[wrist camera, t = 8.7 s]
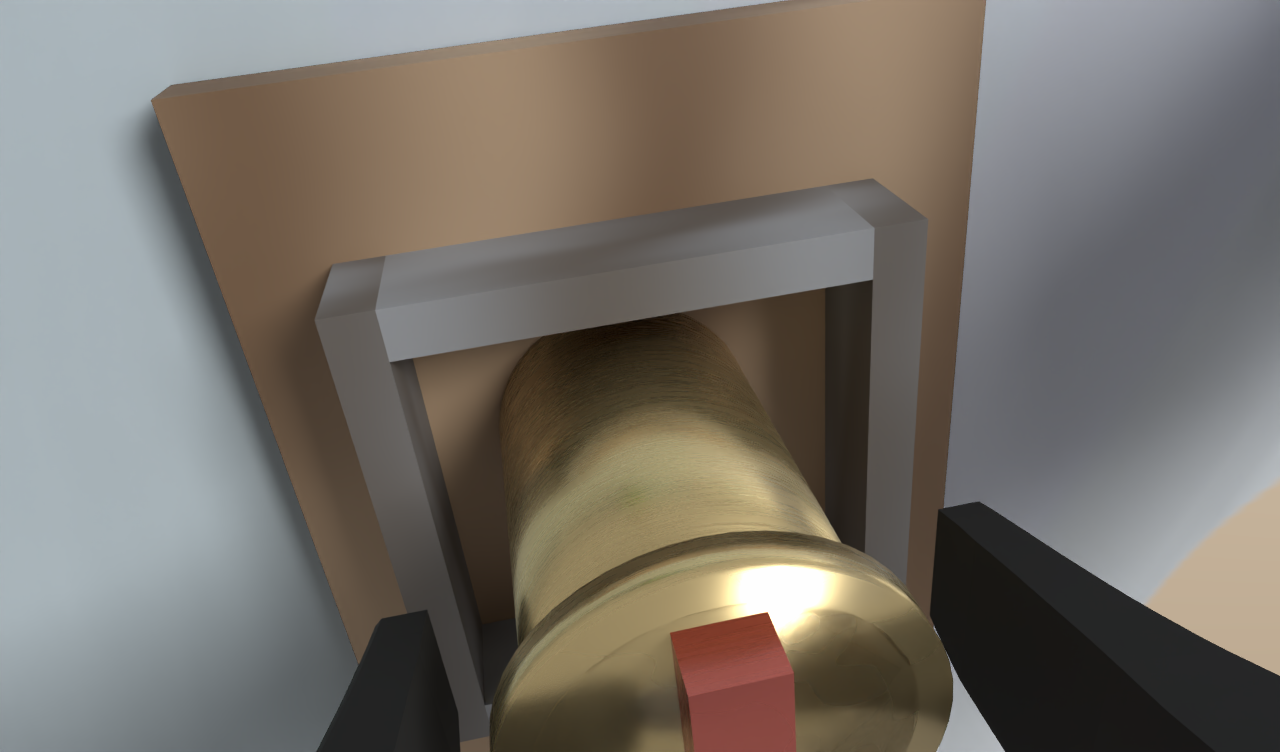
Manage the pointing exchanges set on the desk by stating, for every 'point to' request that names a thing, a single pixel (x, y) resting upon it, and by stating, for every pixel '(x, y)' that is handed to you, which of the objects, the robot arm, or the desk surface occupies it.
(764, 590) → the cylinder
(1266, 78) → the desk surface
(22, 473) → the desk surface
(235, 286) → the board
